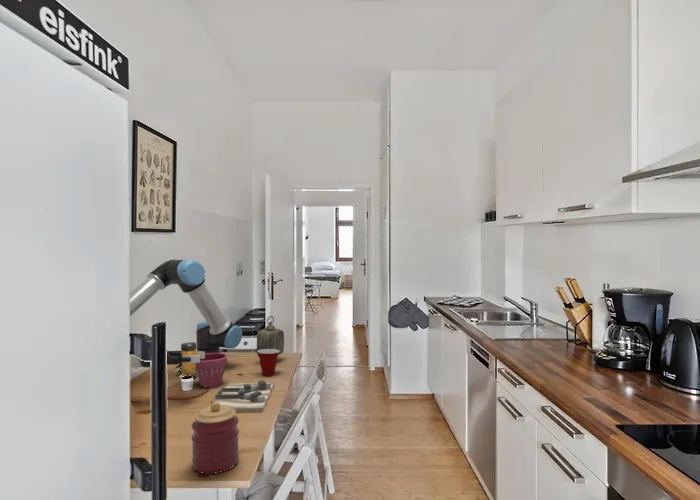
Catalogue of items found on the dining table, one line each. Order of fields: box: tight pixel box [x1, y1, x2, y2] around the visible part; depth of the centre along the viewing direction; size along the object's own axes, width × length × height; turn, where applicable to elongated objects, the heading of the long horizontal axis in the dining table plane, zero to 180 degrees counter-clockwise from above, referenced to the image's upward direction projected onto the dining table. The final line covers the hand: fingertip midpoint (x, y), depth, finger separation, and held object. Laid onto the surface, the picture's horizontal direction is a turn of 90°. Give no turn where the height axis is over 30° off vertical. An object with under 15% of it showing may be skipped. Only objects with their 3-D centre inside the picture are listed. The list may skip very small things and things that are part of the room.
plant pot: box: [196, 352, 228, 389], centre depth 193 cm, size 14×14×13 cm
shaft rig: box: [214, 379, 275, 414], centre depth 175 cm, size 30×20×4 cm
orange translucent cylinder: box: [180, 341, 197, 377], centre depth 172 cm, size 6×6×12 cm
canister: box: [191, 401, 240, 473], centre depth 122 cm, size 13×13×18 cm
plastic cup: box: [256, 349, 280, 377], centre depth 208 cm, size 11×11×12 cm
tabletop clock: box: [256, 315, 285, 358], centre depth 230 cm, size 14×9×25 cm, turn 160°
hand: (201, 357), depth 172 cm, fingers closed on orange translucent cylinder, 5 cm apart
